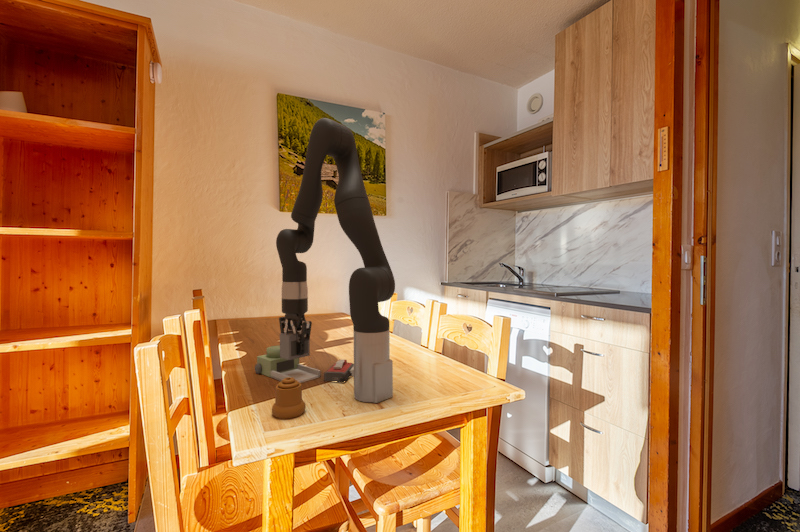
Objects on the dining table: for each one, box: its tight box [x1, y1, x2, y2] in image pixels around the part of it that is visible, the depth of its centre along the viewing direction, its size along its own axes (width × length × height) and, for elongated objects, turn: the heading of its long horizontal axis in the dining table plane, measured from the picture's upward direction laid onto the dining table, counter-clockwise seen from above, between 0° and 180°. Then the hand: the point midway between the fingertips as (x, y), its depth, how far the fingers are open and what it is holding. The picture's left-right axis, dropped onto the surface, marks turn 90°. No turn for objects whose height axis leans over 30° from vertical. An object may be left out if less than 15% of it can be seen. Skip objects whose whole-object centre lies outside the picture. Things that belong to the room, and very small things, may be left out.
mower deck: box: [254, 344, 322, 384], centre depth 118 cm, size 19×12×7 cm, turn 48°
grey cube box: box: [279, 331, 311, 360], centre depth 115 cm, size 5×7×7 cm
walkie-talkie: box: [323, 358, 354, 383], centre depth 119 cm, size 9×4×20 cm
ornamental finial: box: [271, 377, 306, 420], centre depth 89 cm, size 8×8×8 cm
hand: (295, 352), depth 115 cm, fingers closed on grey cube box, 5 cm apart
